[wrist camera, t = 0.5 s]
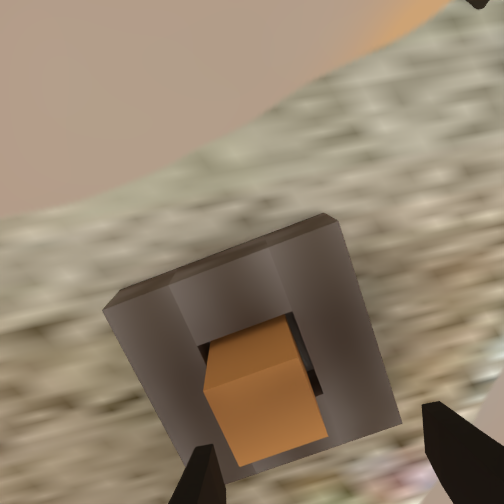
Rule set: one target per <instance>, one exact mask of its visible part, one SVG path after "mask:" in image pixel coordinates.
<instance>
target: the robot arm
mask: <svg viewBox="0 0 504 504" xmlns="http://www.w3.org/2000/svg"><path fill="white" fill-rule="evenodd" d="M422 417H423V430H424V443H425V453H426V455H427V457H428V459H429V461H430V463H431V465H432V467H433V469H434V471H435V473H436V475H437V477H438V479H439V481H440V483H441V485H442V486H443V488H444V489H445V491H446V493H447V494H448V496H449V497H450V499H451V500H452V502H453V504H504V446H502V445H501V444H500V443H498V442H497V441H495V440H494V439H492V438H491V437H489V436H488V435H486V434H485V433H483V432H482V431H481V430H479V429H478V428H476V427H475V426H474V425H472V424H471V423H469V422H468V421H467V420H465V419H464V418H462V417H461V416H460V415H458V414H457V413H456V412H454V411H453V410H451V409H450V408H449V407H447V406H446V405H444V404H443V403H441V402H440V401H438V402H432V403H427V404H422ZM168 504H226V488H225V484H224V480H223V477H222V473H221V470H220V466H219V463H218V459H217V456H216V452H215V448H214V445H213V444H208V445H202V446H197V447H195V448H194V450H193V452H192V454H191V457H190V459H189V461H188V463H187V466H186V468H185V470H184V472H183V474H182V477H181V479H180V481H179V483H178V485H177V487H176V489H175V491H174V493H173V495H172V497H171V499H170V501H169V503H168Z"/></svg>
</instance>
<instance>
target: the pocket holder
mask: <svg viewBox="0 0 504 504" xmlns="http://www.w3.org/2000/svg"><path fill="white" fill-rule="evenodd" d="M102 311H103V313H104V315H105V317H106V319H107V321H108V323H109V325H110V326H111V328H112V330H113V332H114V334H115V336H116V338H117V340H118V341H119V343H120V345H121V347H122V349H123V351H124V353H125V355H126V356H127V358H128V360H129V362H130V364H131V366H132V368H133V370H134V371H135V373H136V375H137V377H138V379H139V381H140V383H141V385H142V386H143V388H144V390H145V392H146V394H147V396H148V398H149V400H150V402H151V403H152V405H153V407H154V409H155V411H156V413H157V415H158V417H159V418H160V420H161V422H162V424H163V426H164V428H165V430H166V432H167V433H168V435H169V437H170V439H171V441H172V443H173V445H174V447H175V448H176V450H177V452H178V454H179V456H180V458H181V460H182V462H183V463H184V465H185V467H186V466H187V463H188V461H189V459H190V457H191V454H192V452H193V450H194V448H195V447H197V446H202V445H208V444H213V445H214V448H215V452H216V456H217V459H218V463H219V466H220V470H221V473H222V477H223V480H224V484H228V483H231V482H234V481H237V480H240V479H243V478H246V477H249V476H251V475H254V474H257V473H260V472H263V471H266V470H269V469H272V468H275V467H278V466H281V465H283V464H286V463H289V462H292V461H295V460H298V459H301V458H304V457H307V456H310V455H313V454H315V453H318V452H321V451H324V450H327V449H330V448H333V447H336V446H339V445H342V444H345V443H347V442H350V441H353V440H356V439H359V438H362V437H365V436H368V435H371V434H374V433H377V432H380V431H382V430H385V429H388V428H391V427H394V426H397V425H400V424H402V420H401V417H400V414H399V411H398V408H397V405H396V401H395V398H394V395H393V392H392V389H391V386H390V383H389V379H388V376H387V373H386V370H385V367H384V364H383V360H382V357H381V354H380V351H379V348H378V345H377V341H376V338H375V335H374V332H373V329H372V326H371V323H370V319H369V316H368V313H367V310H366V307H365V304H364V300H363V297H362V294H361V291H360V288H359V285H358V281H357V278H356V275H355V272H354V269H353V266H352V263H351V259H350V256H349V253H348V250H347V247H346V244H345V240H344V237H343V234H342V231H341V228H340V225H339V221H337V220H336V219H334V218H332V217H330V216H329V215H327V214H325V213H322V214H320V215H317V216H314V217H312V218H309V219H306V220H304V221H301V222H298V223H296V224H293V225H291V226H288V227H285V228H283V229H280V230H277V231H275V232H272V233H269V234H267V235H264V236H262V237H259V238H256V239H254V240H251V241H248V242H246V243H243V244H240V245H238V246H235V247H233V248H230V249H227V250H225V251H222V252H219V253H217V254H214V255H211V256H209V257H206V258H204V259H201V260H198V261H196V262H193V263H190V264H188V265H185V266H182V267H180V268H177V269H175V270H172V271H169V272H167V273H164V274H161V275H159V276H156V277H153V278H151V279H148V280H146V281H143V282H140V283H138V284H135V285H132V286H130V287H127V288H124V289H122V290H120V291H119V292H118V293H117V294H116V295H115V297H114V298H113V299H112V300H111V301H110V302H109V303H108V304H107V305H106V306H105V307H104V309H103V310H102ZM283 314H285V316H286V318H287V321H288V324H289V326H290V329H291V331H292V334H293V337H294V339H295V342H296V344H297V347H298V350H299V352H300V355H301V357H302V360H303V363H304V365H305V368H306V371H307V374H308V377H309V380H310V383H311V386H312V389H313V392H314V395H315V398H316V401H317V404H318V407H319V410H320V413H321V416H322V419H323V422H324V425H325V428H326V431H327V434H328V437H325V438H322V439H319V440H316V441H313V442H310V443H308V444H305V445H302V446H299V447H296V448H293V449H290V450H287V451H284V452H282V453H279V454H276V455H273V456H270V457H267V458H264V459H261V460H258V461H256V462H253V463H250V464H247V465H244V466H241V467H239V465H238V463H237V461H236V459H235V457H234V455H233V453H232V450H231V448H230V446H229V444H228V442H227V440H226V438H225V436H224V434H223V432H222V430H221V428H220V426H219V424H218V421H217V419H216V417H215V415H214V413H213V411H212V409H211V407H210V405H209V403H208V401H207V399H206V397H205V394H204V392H203V388H204V381H205V375H206V368H207V361H208V354H209V348H210V341H212V340H215V339H218V338H220V337H223V336H226V335H229V334H231V333H234V332H237V331H240V330H242V329H245V328H248V327H250V326H253V325H256V324H259V323H261V322H264V321H267V320H270V319H272V318H275V317H278V316H280V315H283Z"/></svg>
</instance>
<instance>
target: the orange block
mask: <svg viewBox="0 0 504 504" xmlns="http://www.w3.org/2000/svg"><path fill="white" fill-rule="evenodd" d="M203 392H204V394H205V397H206V399H207V401H208V403H209V405H210V407H211V409H212V411H213V413H214V415H215V417H216V419H217V421H218V424H219V426H220V428H221V430H222V432H223V434H224V436H225V438H226V440H227V442H228V444H229V446H230V448H231V450H232V453H233V455H234V457H235V459H236V461H237V463H238V465H239V467H241V466H244V465H247V464H250V463H253V462H256V461H258V460H261V459H264V458H267V457H270V456H273V455H276V454H279V453H282V452H284V451H287V450H290V449H293V448H296V447H299V446H302V445H305V444H308V443H310V442H313V441H316V440H319V439H322V438H325V437H328V434H327V431H326V428H325V425H324V422H323V419H322V416H321V413H320V410H319V407H318V404H317V401H316V398H315V395H314V392H313V389H312V386H311V383H310V380H309V377H308V374H307V371H306V368H305V365H304V363H303V360H302V357H301V355H300V352H299V350H298V347H297V344H296V342H295V339H294V337H293V334H292V331H291V329H290V326H289V324H288V321H287V318H286V316H285V314H283V315H280V316H278V317H275V318H272V319H270V320H267V321H264V322H261V323H259V324H256V325H253V326H250V327H248V328H245V329H242V330H240V331H237V332H234V333H231V334H229V335H226V336H223V337H220V338H218V339H215V340H212V341H210V348H209V354H208V361H207V368H206V375H205V381H204V388H203Z"/></svg>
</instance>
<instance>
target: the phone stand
mask: <svg viewBox="0 0 504 504" xmlns="http://www.w3.org/2000/svg"><path fill="white" fill-rule="evenodd" d="M466 1H467V2H469V3H470V4H471V5H472V6H473V7H475V8H477V9H482V8H484V7H485V6H486V4H487V3H488V1H489V0H466Z"/></svg>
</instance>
